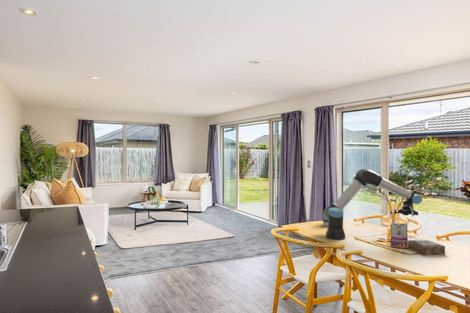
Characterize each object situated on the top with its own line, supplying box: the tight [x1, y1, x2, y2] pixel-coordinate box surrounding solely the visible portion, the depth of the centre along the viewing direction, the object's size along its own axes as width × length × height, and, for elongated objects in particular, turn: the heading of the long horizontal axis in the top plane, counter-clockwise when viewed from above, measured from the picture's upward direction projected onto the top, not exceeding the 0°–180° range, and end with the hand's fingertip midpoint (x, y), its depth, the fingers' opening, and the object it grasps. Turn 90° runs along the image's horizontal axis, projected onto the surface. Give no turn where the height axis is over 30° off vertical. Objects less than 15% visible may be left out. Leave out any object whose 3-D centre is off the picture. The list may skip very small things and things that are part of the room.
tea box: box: [322, 211, 328, 227], centre depth 331 cm, size 15×10×15 cm
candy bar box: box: [390, 222, 409, 247], centre depth 257 cm, size 11×5×16 cm, turn 62°
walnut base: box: [407, 239, 446, 256], centre depth 241 cm, size 16×16×6 cm
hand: (402, 214), depth 265 cm, fingers open, 13 cm apart
